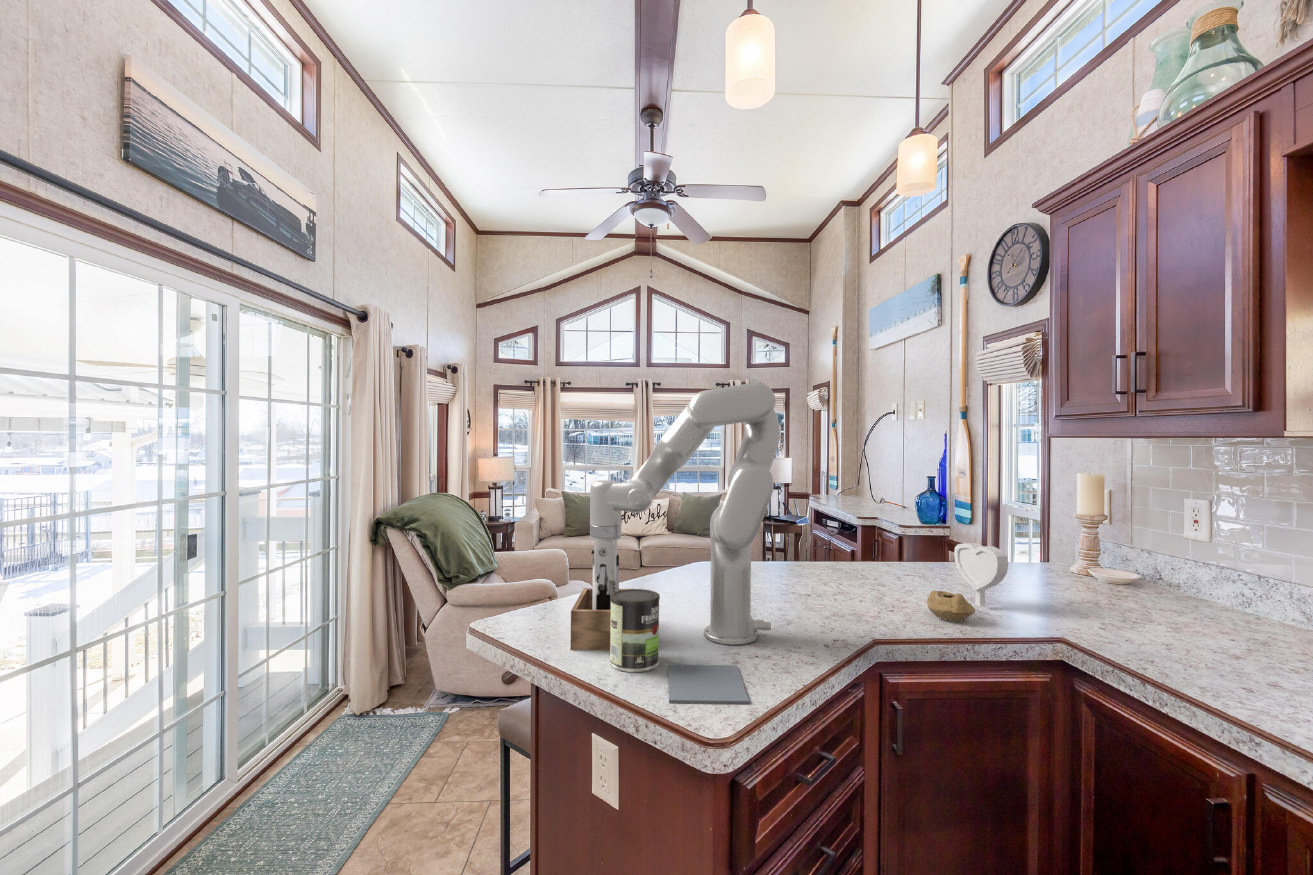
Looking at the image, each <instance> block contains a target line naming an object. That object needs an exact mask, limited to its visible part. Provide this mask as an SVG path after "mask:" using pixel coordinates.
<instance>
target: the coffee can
mask: <svg viewBox="0 0 1313 875" xmlns="http://www.w3.org/2000/svg"><path fill="white" fill-rule="evenodd" d="M625 589H626V590H620V591H616V592H613V593H612V594H611V595H610V599H611V637H610V650H609V655H610V656H609V658H610V659H609V665H610V666H611V667H612V668H613V669H615V670H617V671H621V672H626V673H642V672H648V671H651V670H654V669H655V668H657V667H658V666H659V663H660V662H659V658H660V657H659V656H660V655H659V653H660V652H659V650H660V649H659V645H660V644H659V643H660V640H659V639H660V638H659V637H660V636H659V635H660V631H659V630H660V629H659V628H660V597H661V596H660V593H658V592H656V591H653V590H650V589H645V588H644V589H641V588H625Z"/></svg>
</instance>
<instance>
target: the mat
mask: <svg viewBox="0 0 1313 875" xmlns="http://www.w3.org/2000/svg"><path fill="white" fill-rule="evenodd" d="M667 666H668V667H667V669H668V670H667V671H668V673H667V674H668V676H667V678H668V680H667V681H668V703H669V704H673V703H674V704H725V705H729V704H730V705H733V704H736V705H740V704H741V705H743V704H744V705H750V700H749V696H748V693H747V690H746V688H745V684H744V682H743V679H742V676H741V673H740V670H739V667H738V665H737V664H726V665H725V664H675V663H674V664H671V663H670V664H667Z"/></svg>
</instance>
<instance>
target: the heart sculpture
mask: <svg viewBox="0 0 1313 875" xmlns="http://www.w3.org/2000/svg"><path fill="white" fill-rule="evenodd" d="M953 555H954V564H955V566H956V568H957V571H958V572H959V574H960V575H961V576H962V578H963V579H964V581H965V582H967V584H968V585H969V586H970V587H971V588H972V589H973V591H974V592H975V594H974V595H975V597H974V598H975V599H974V600H975V601H974V603H975V605H977V606H983V607H985V608H986V607H987V606H986V590H988V589H990V588H993V587H995V586H997V585H998V584H999V583H1002V581H1003V580H1004V579H1005V576H1007V574H1008V569H1009V568H1008V567H1009V560H1008V559H1009V558H1008V555H1007V553H1005V551H1003V550H1001V549H999V548H998V547H996V546H993V545H987V546H984V545H982V544H981V543H978V542H975V543H974V542H969V543H968V542H967V543H958V544H957V545H956V546H954V552H953Z"/></svg>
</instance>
